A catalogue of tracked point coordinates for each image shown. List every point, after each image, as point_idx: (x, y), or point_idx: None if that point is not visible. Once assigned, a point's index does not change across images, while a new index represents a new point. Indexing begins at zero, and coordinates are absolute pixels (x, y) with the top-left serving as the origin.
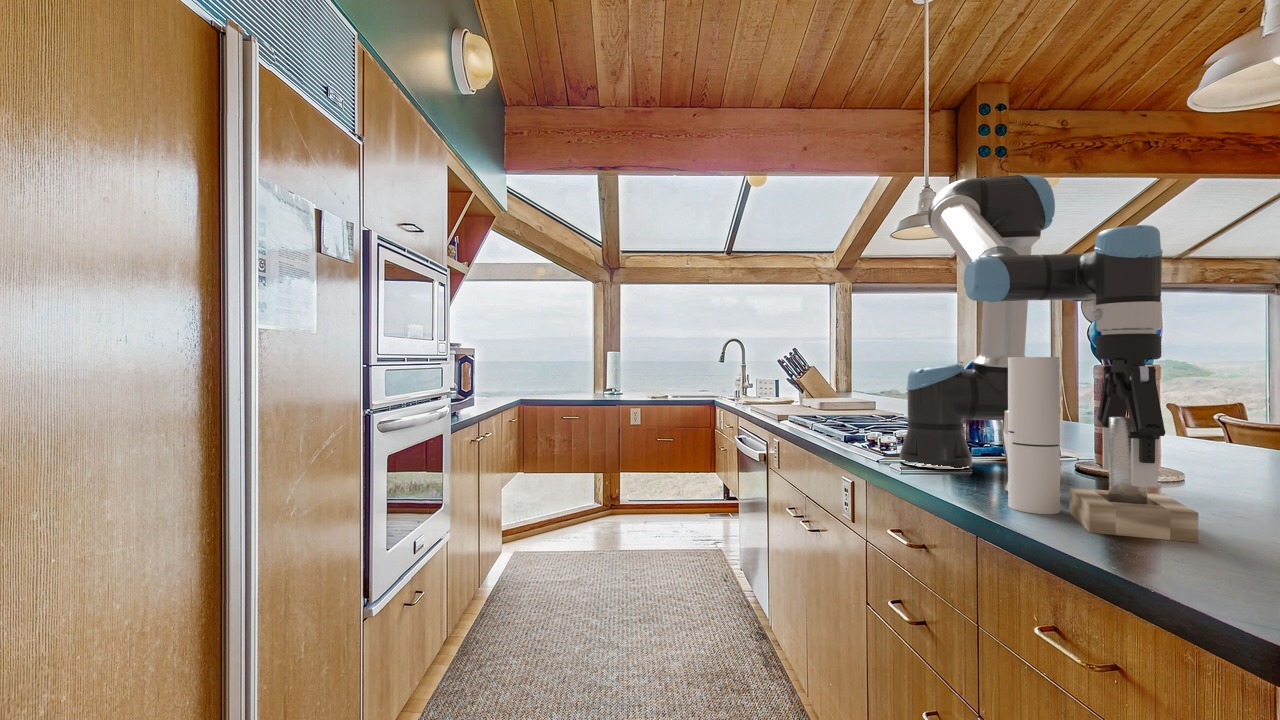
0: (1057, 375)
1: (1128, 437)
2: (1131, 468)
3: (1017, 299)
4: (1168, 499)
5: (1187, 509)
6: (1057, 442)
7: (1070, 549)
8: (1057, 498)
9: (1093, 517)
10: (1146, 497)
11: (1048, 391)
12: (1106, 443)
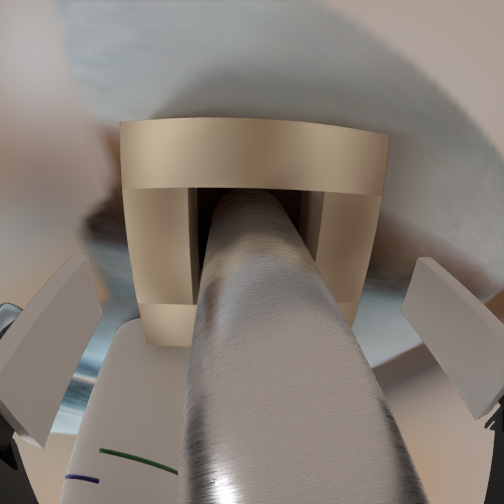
0: None
1: (487, 423)
2: (427, 342)
3: None
4: (209, 133)
5: (355, 141)
6: (152, 471)
7: (416, 335)
8: (172, 348)
9: None
10: (287, 220)
11: None
12: (64, 382)
